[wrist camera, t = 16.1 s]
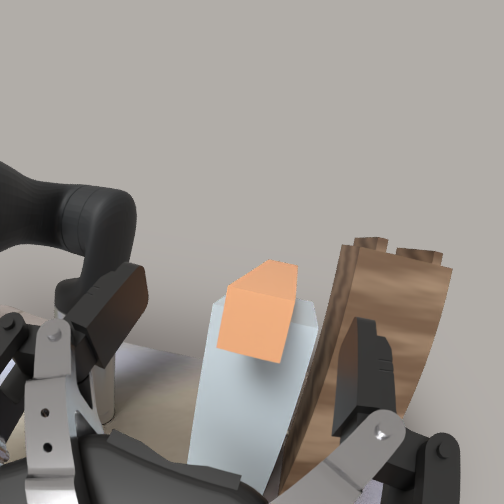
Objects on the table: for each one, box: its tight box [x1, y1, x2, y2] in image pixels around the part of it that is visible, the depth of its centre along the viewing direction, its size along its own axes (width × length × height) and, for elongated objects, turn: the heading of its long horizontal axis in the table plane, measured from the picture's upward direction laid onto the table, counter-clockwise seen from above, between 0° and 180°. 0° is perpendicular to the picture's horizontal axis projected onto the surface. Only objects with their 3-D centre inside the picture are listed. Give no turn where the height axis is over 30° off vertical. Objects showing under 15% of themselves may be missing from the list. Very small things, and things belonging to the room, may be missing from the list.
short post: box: [187, 295, 318, 495], centre depth 34 cm, size 12×10×24 cm
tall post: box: [278, 237, 452, 496], centre depth 32 cm, size 12×10×33 cm
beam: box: [216, 260, 298, 363], centre depth 29 cm, size 24×4×4 cm, turn 171°
